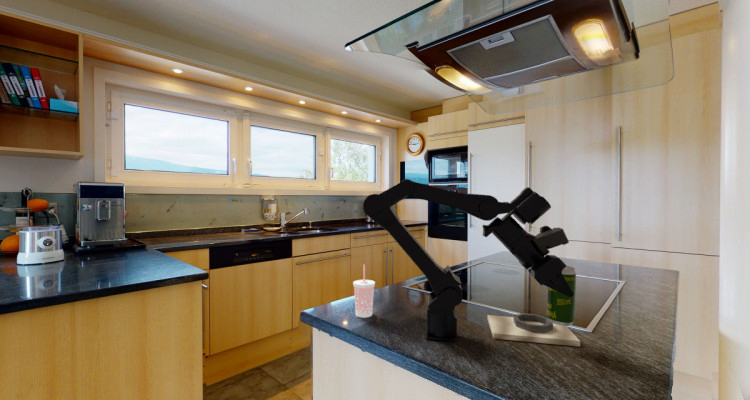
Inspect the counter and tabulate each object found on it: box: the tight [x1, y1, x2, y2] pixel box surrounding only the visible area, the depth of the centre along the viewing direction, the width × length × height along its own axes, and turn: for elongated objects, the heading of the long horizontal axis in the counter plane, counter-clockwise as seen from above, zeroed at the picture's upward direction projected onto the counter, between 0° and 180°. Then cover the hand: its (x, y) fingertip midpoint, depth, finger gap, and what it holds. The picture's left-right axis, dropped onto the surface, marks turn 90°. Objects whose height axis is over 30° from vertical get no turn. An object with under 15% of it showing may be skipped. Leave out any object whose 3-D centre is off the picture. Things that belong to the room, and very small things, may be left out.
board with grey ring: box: [487, 312, 581, 347], centre depth 79 cm, size 18×12×3 cm, turn 77°
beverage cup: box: [352, 263, 376, 319], centre depth 90 cm, size 6×6×14 cm
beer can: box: [545, 265, 577, 327], centre depth 72 cm, size 5×5×12 cm
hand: (567, 292), depth 71 cm, fingers closed on beer can, 5 cm apart
